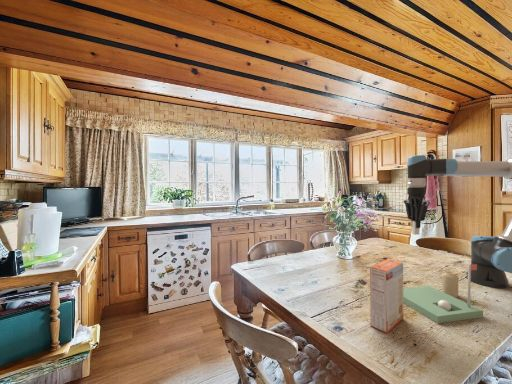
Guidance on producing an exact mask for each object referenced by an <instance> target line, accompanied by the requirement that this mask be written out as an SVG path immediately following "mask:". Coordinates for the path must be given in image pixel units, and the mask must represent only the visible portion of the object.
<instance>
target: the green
mask: <svg viewBox="0 0 512 384" xmlns="http://www.w3.org/2000/svg"><path fill="white" fill-rule="evenodd" d="M471 270H477V264H475V265H471V264H468V265H467V271H468V279H467V301H466V302H465V301H464V300H462V299H459V298H458V297H452V296H450V295H448V294H446V293H444V292H442V290H439V289H437V288H434V287H433V286H430V285H421V286H411V287H403V304H405V305H407V306H408V307H410V308H411V309H413V310H414V311H416V312H418V313H419V314H421V315H422V316H424V317H427V318H428V319H430V320H432V321H433V322H434V323H436V324H442V323H450V322H458V321H464V320H473V319H479V318H484V310H483V309H481V308H478V307H477V306H474V305H472V304H471V288H472V287H471V286H472V285H471V282H472V281H471ZM440 300H445V301H447V302H449V304H450V305H451V310H450V311H446V310H444V309H442V308H441V307H439V306H438V302H439V301H440Z"/></svg>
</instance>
